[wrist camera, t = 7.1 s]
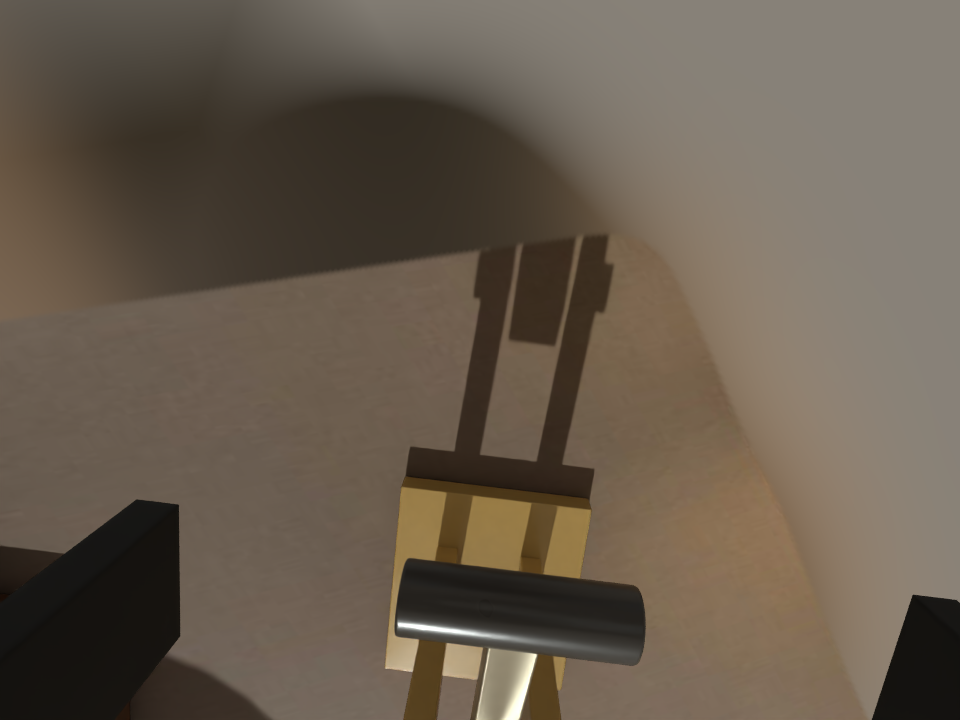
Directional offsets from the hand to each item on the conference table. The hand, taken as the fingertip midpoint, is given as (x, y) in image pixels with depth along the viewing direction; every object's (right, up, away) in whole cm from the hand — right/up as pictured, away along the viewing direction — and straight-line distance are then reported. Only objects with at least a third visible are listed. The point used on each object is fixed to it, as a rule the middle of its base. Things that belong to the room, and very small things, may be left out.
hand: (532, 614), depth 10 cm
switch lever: (-1, -4, +6) cm, 7 cm away
